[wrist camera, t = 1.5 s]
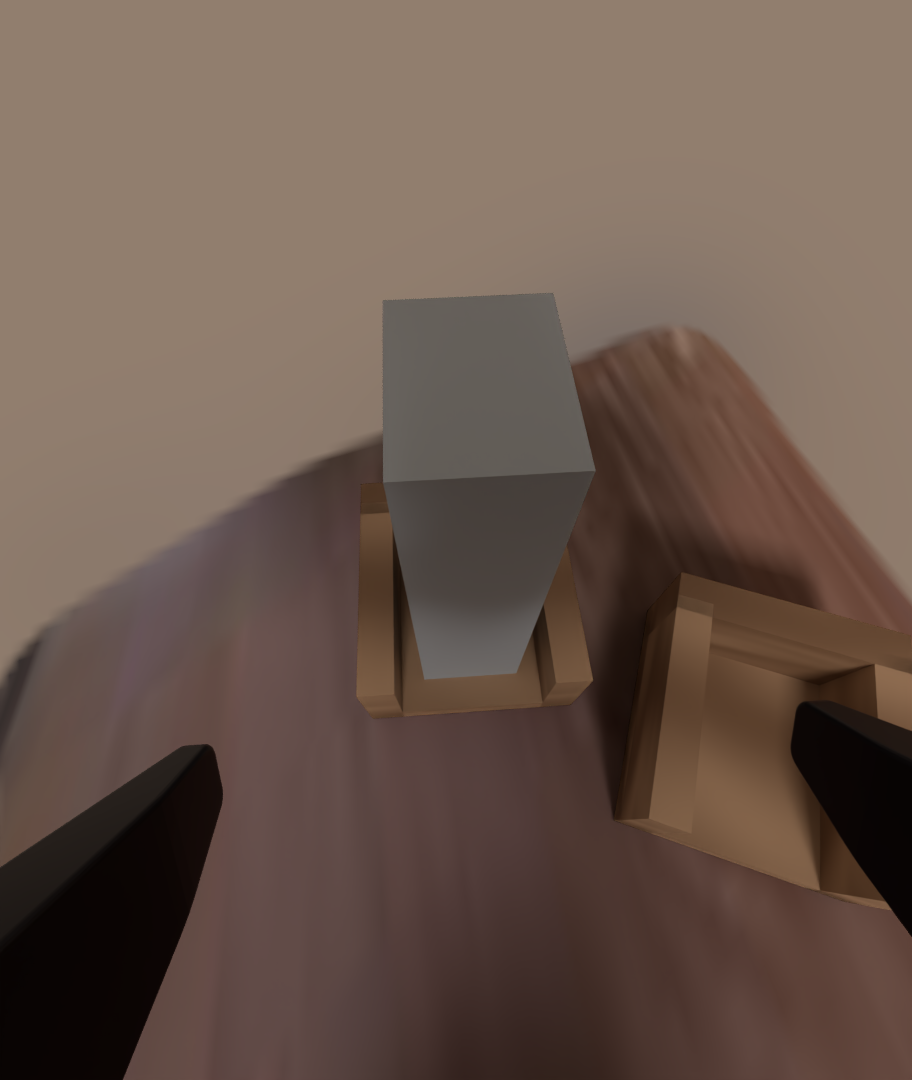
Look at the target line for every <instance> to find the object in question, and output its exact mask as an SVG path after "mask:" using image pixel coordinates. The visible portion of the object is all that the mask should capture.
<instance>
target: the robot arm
mask: <svg viewBox="0 0 912 1080" xmlns="http://www.w3.org/2000/svg"><path fill="white" fill-rule="evenodd" d="M790 749H791V755H792V758H793V761H794V763H795V765H796V766H797V768H798V770H799V771H800V773H801V774H802V776H803V778H804V779H805V781H806V782H807V784H808V786H809V787H810V789H811V791H812V792H813V794H814V795H815V797H816V799H817V800H818V802H819V803H820V805H821V807H822V808H823V810H824V812H825V813H826V815H827V816H828V818H829V820H830V821H831V823H832V824H833V826H834V828H835V829H836V831H837V833H838V834H839V836H840V837H841V839H842V841H843V842H844V844H845V845H846V847H847V848H848V850H849V851H850V853H851V854H852V856H853V857H854V859H855V860H856V862H857V863H858V865H859V866H860V867H861V869H862V870H863V872H864V873H865V874H866V876H867V877H868V879H869V880H870V881H871V883H872V884H873V885H874V887H875V888H876V889H877V891H878V892H879V893H880V895H881V896H882V898H883V899H884V900H885V902H886V903H887V904H888V906H889V907H890V908H891V910H892V911H893V912H894V914H895V915H896V916H897V918H898V919H899V920H900V922H901V923H902V924H903V926H904V927H905V928H906V930H907V931H908V933H909V934H910V935H911V937H912V731H910V730H908V729H905V728H902V727H900V726H897V725H895V724H892V723H889V722H887V721H884V720H881V719H879V718H876V717H873V716H871V715H868V714H865V713H863V712H860V711H857V710H855V709H852V708H849V707H847V706H844V705H841V704H839V703H836V702H833V701H830V700H814V701H803V702H801V703H800V704H799V705H798V706H797V708H796V712H795V719H794V725H793V731H792V738H791V744H790ZM222 800H223V788H222V783H221V779H220V774H219V769H218V764H217V760H216V755H215V752H214V749H213V748H212V746H210V745H208V744H202V745H188V746H182V747H180V748H178V749H177V750H175V751H174V752H172V753H171V754H169V755H168V756H166V757H165V758H163V759H162V760H160V761H159V762H157V763H156V764H154V765H153V766H151V767H150V768H148V769H147V770H145V771H144V772H142V773H141V774H139V775H138V776H136V777H135V778H133V779H132V780H130V781H129V782H127V783H126V784H124V785H123V786H121V787H120V788H118V789H117V790H115V791H114V792H112V793H111V794H109V795H108V796H106V797H105V798H103V799H102V800H100V801H99V802H97V803H96V804H94V805H93V806H91V807H90V808H88V809H87V810H85V811H84V812H82V813H81V814H79V815H78V816H76V817H75V818H73V819H72V820H70V821H69V822H67V823H66V824H64V825H63V826H61V827H60V828H58V829H57V830H55V831H54V832H52V833H51V834H49V835H48V836H46V837H45V838H43V839H42V840H40V841H39V842H37V843H36V844H34V845H33V846H31V847H30V848H28V849H27V850H25V851H24V852H22V853H21V854H19V855H18V856H16V857H15V858H13V859H12V860H10V861H9V862H7V863H6V864H4V865H3V866H1V867H0V1080H123V1078H124V1076H125V1073H126V1071H127V1068H128V1066H129V1063H130V1061H131V1058H132V1056H133V1053H134V1051H135V1048H136V1046H137V1043H138V1041H139V1038H140V1036H141V1033H142V1031H143V1028H144V1026H145V1023H146V1021H147V1018H148V1016H149V1014H150V1011H151V1009H152V1006H153V1004H154V1001H155V999H156V996H157V994H158V991H159V989H160V986H161V984H162V981H163V979H164V976H165V974H166V971H167V969H168V966H169V964H170V961H171V959H172V956H173V954H174V952H175V949H176V947H177V944H178V942H179V939H180V937H181V934H182V932H183V929H184V926H185V924H186V921H187V918H188V916H189V913H190V910H191V907H192V904H193V901H194V897H195V894H196V891H197V888H198V884H199V881H200V877H201V874H202V871H203V867H204V864H205V860H206V857H207V854H208V850H209V847H210V843H211V840H212V837H213V833H214V830H215V826H216V823H217V820H218V816H219V813H220V810H221V806H222Z"/></svg>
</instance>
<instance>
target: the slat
mask: <svg viewBox="0 0 912 1080" xmlns="http://www.w3.org/2000/svg"><path fill="white" fill-rule="evenodd" d="M595 471H596V470H595V466H594V462H593V458H592V453H591V449H590V445H589V441H588V437H587V433H586V428H585V424H584V420H583V416H582V412H581V407H580V403H579V399H578V395H577V391H576V386H575V382H574V378H573V374H572V370H571V366H570V361H569V357H568V353H567V349H566V345H565V341H564V336H563V332H562V328H561V324H560V319H559V315H558V311H557V307H556V303H555V299H554V295H553V293H543V294H519V295H497V296H473V297H454V298H453V297H452V298H428V299H405V300H383V484H384V489H385V494H386V499H387V504H388V508H389V513H390V518H391V523H392V527H393V532H394V537H395V542H396V546H397V551H398V556H399V561H400V565H401V570H402V575H403V580H404V585H405V589H406V594H407V599H408V604H409V608H410V613H411V618H412V623H413V627H414V632H415V637H416V642H417V646H418V651H419V656H420V661H421V666H422V670H423V675H424V680H425V679H440V678H455V677H469V676H484V675H499V674H513V673H517V670H518V667H519V665H520V662H521V660H522V657H523V655H524V652H525V650H526V647H527V644H528V642H529V639H530V637H531V634H532V632H533V629H534V627H535V624H536V622H537V619H538V616H539V614H540V611H541V609H542V606H543V604H544V601H545V599H546V596H547V593H548V591H549V588H550V586H551V583H552V581H553V578H554V576H555V573H556V571H557V568H558V565H559V563H560V560H561V558H562V555H563V553H564V550H565V548H566V545H567V542H568V540H569V537H570V535H571V532H572V530H573V527H574V525H575V522H576V520H577V517H578V514H579V512H580V509H581V507H582V504H583V502H584V499H585V497H586V494H587V492H588V489H589V486H590V484H591V481H592V479H593V476H594V474H595Z"/></svg>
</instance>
